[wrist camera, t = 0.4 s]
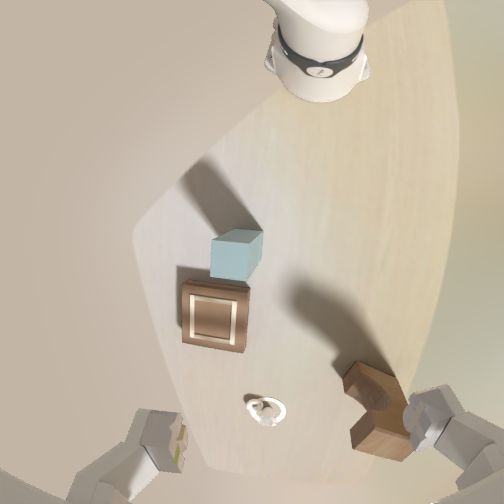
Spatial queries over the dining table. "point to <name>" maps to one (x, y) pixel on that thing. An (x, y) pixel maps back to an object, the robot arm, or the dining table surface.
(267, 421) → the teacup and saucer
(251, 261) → the column
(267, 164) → the dining table surface
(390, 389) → the decorative block
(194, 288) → the plinth
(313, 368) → the dining table surface
